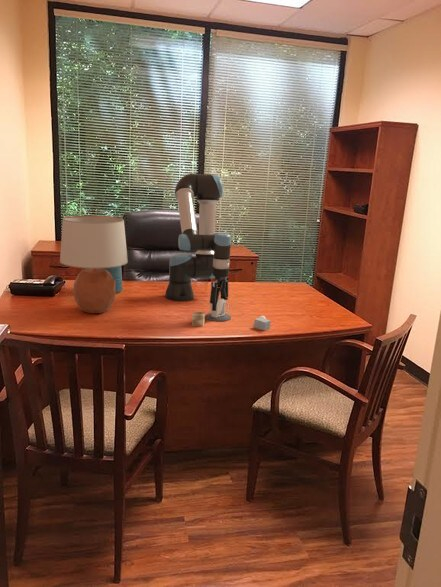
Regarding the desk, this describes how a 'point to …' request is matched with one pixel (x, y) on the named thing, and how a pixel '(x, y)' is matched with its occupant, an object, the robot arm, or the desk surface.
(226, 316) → the coaster
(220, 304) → the cup
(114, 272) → the vase
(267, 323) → the greyblue block
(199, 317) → the birch block
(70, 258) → the lamp
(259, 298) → the desk surface
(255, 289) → the desk surface
